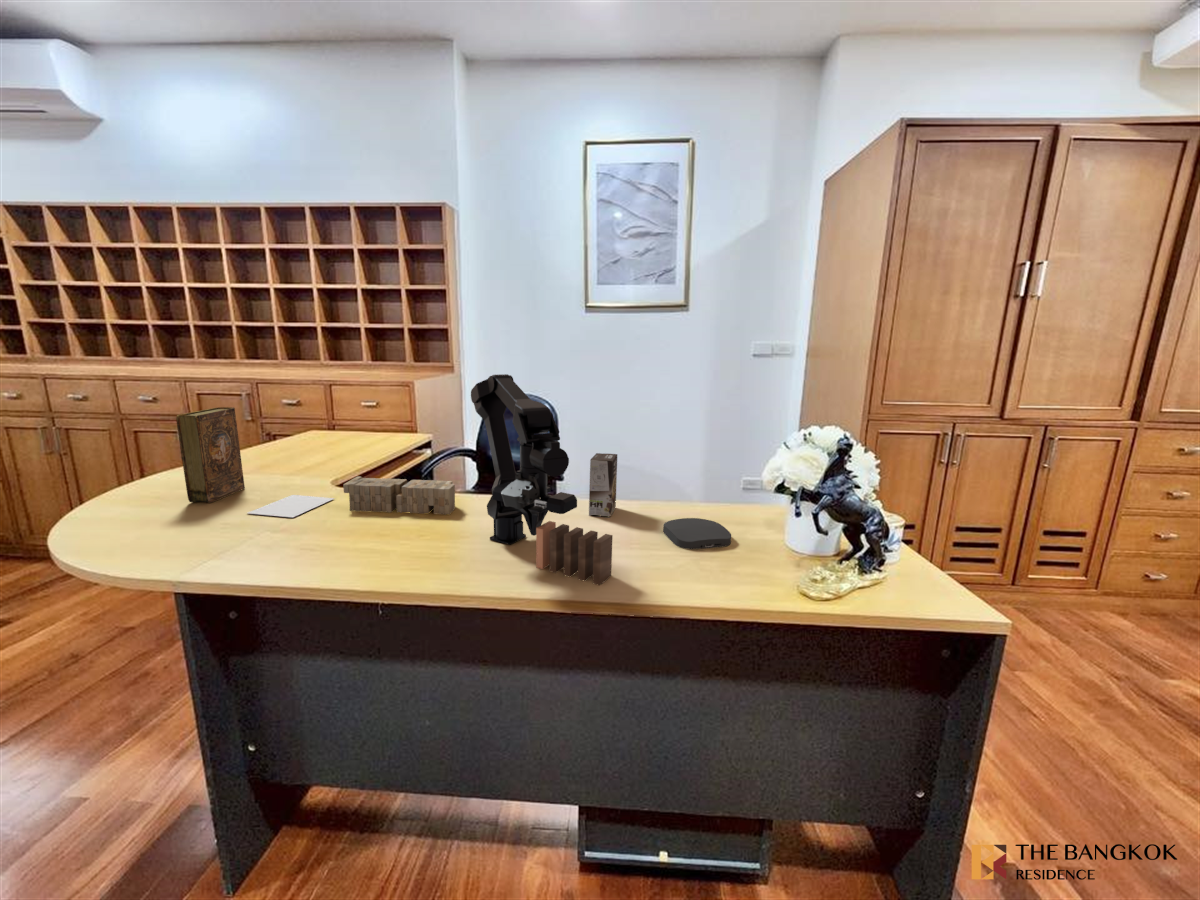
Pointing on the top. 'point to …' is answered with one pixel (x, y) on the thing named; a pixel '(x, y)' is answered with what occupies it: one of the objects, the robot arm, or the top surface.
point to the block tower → (400, 495)
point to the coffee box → (602, 484)
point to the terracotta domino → (543, 544)
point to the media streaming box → (697, 533)
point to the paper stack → (291, 506)
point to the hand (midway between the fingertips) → (534, 534)
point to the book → (210, 453)
